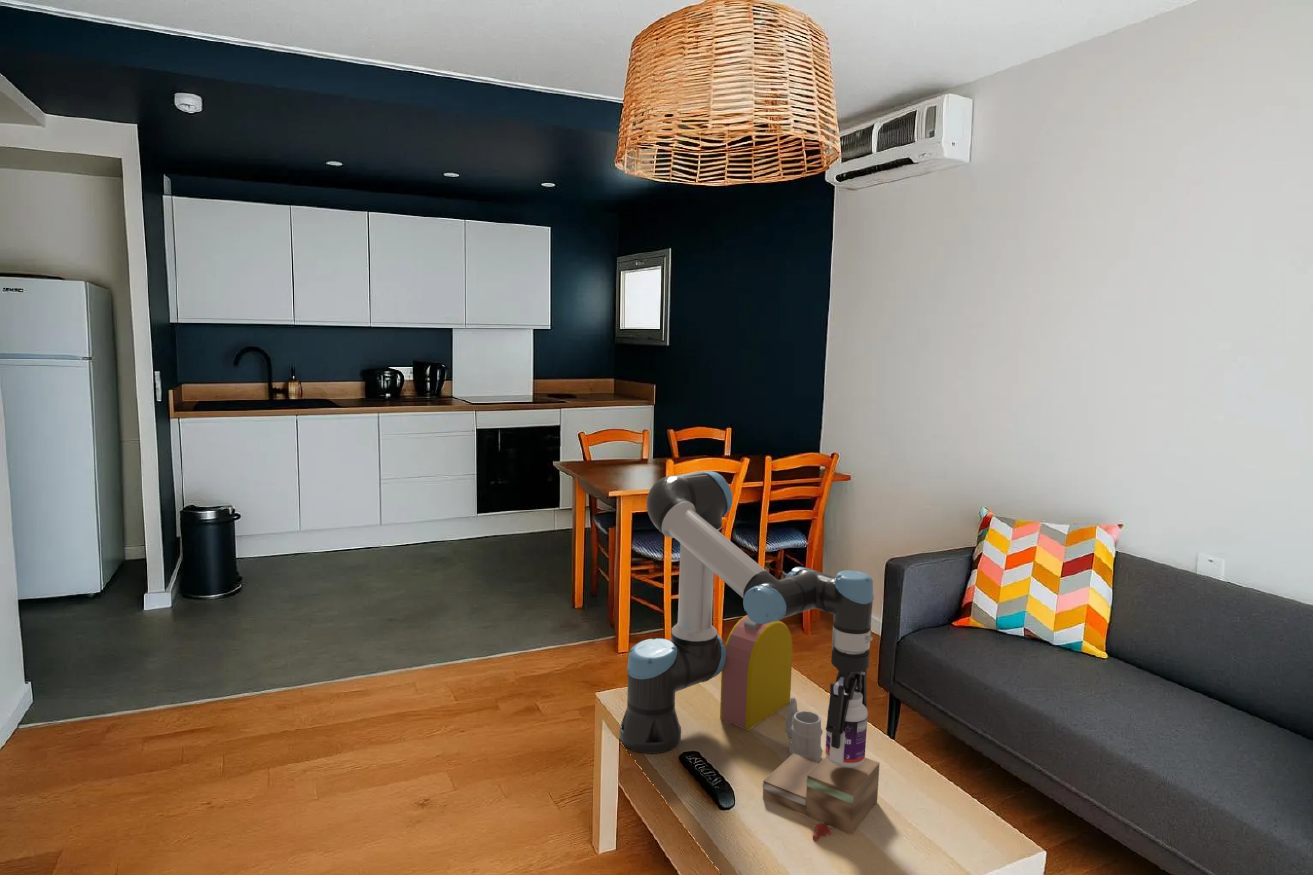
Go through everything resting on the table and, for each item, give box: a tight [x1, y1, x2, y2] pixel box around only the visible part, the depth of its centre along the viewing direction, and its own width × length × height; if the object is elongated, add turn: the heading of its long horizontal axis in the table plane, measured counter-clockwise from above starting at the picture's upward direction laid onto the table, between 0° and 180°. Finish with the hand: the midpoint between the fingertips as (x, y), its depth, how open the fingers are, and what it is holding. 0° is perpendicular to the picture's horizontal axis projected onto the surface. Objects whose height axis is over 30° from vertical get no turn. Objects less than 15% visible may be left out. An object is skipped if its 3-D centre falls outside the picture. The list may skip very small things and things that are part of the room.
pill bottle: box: [824, 691, 869, 768], centre depth 162 cm, size 8×8×14 cm
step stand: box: [762, 753, 880, 842], centre depth 165 cm, size 20×20×9 cm
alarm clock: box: [719, 614, 793, 730], centre depth 206 cm, size 21×9×26 cm, turn 140°
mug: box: [784, 696, 824, 763], centre depth 186 cm, size 8×12×12 cm, turn 26°
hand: (845, 751), depth 163 cm, fingers closed on pill bottle, 8 cm apart
